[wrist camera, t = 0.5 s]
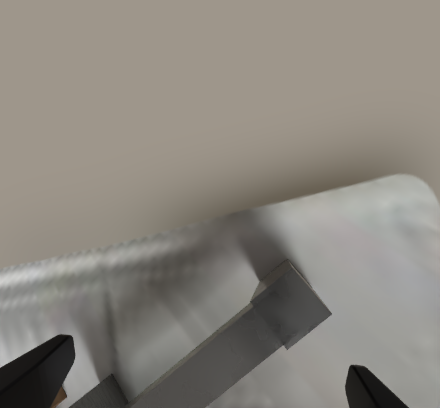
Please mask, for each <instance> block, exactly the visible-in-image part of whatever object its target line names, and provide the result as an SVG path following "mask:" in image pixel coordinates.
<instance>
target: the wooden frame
mask: <svg viewBox="0 0 440 408" xmlns="http://www.w3.org/2000/svg"><path fill="white" fill-rule="evenodd" d="M66 397H67V396H66V394H65V392H64V390H63V388H62V386H61V388H60V390H59V392H58V394H57V396H56V398H55V400H54V402H53V404H52V406H51V407H50V408H55V407H56V406H57V405H58V404H59V403H60V402H62V401H63V400H64V399H65V398H66Z"/></svg>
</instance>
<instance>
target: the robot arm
mask: <svg viewBox="0 0 440 408" xmlns="http://www.w3.org/2000/svg"><path fill="white" fill-rule="evenodd" d="M74 360H75V348H74V341H73V337H72V336H71V335H63V334H60V335H57V336H55V337H53V338H52V339H50V340H48V341H46V342H45V343H43V344H41V345H39V346H38V347H36V348H34V349H32V350H31V351H29V352H27V353H25V354H24V355H22V356H20V357H18V358H17V359H15V360H13V361H11V362H10V363H8V364H6V365H4V366H3V367H1V368H0V408H50V407H51V406H52V404H53V402H54V400H55V398H56V396H57V394H58V392H59V390H60V388H61V386H62V384H63V382H64V380H65V378H66V376H67V375H68V373H69V371H70V369H71V367H72V365H73V363H74ZM345 391H346V396H347V400H348V404H349V408H409V407H408V406H407V405H405V404H404V403H403V402H402V401H401V400H400V399H399V398H398V397H397V396H396V395H395V394H394V393H393V392H392V391H391V390H390V389H389V388H388V387H386V386H385V385H384V384H383V383H382V382H381V381H380V380H379V379H378V378H377V377H376V376H375V375H374V374H373V373H372V372H371V371H370V370H368V369H367V368H366V367H365V366H361V365H351V366H350V367H349V370H348V375H347V380H346V384H345Z"/></svg>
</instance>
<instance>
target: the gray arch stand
mask: <svg viewBox="0 0 440 408" xmlns="http://www.w3.org/2000/svg"><path fill="white" fill-rule="evenodd" d="M330 315H332V313H331V312H330V311H329V309H328V308H327V307H326V305H325V304H324V303H323V301H322V300H321V299H320V298H319V296H318V295H317V294H316V292H315V291H314V290H313V289H312V287H311V286H310V285H309V284H308V283H307V282H306V280H305V279H304V278H303V277H302V276H301V275H300V273H299V272H298V271H297V270H296V269H295V268H294V266H293V265H292V264H291V263H290V262H289V261H288V259H287V260H285V261H284V262H283V263H282V264H281V265H279V266H278V267H277V268H276V269H274V270H273V271H272V272H271V273H270V274H268V275H267V276H266V277H265V278H264V279H262V280H261V281H260V282H259V284H258V286H257V288H256V290H255V292H254V295H253V297H252V299H251V301H250V304H248V305H247V306H246V307H245V308H244V309H242V310H241V311H240V312H239V313H238V314H236V315H235V316H234V317H233V318H231V319H230V320H229V321H228V322H227V323H225V324H224V325H223V326H222V327H220V328H219V329H218V330H217V331H216V332H214V333H213V334H212V335H211V336H210V337H208V338H207V339H206V340H205V341H203V342H202V343H201V344H200V345H199V346H197V347H196V348H195V349H194V350H193V351H191V352H190V353H189V354H188V355H186V356H185V357H184V358H183V359H182V360H180V361H179V362H178V363H177V364H175V365H174V366H173V367H172V368H171V369H169V370H168V371H167V372H166V373H165V374H163V375H162V376H161V377H160V378H158V379H157V380H156V381H155V382H154V383H152V384H151V385H150V386H149V387H148V388H146V389H145V390H144V391H143V392H141V393H140V394H139V395H138V396H137V397H135V398H134V399H133V400H132V401H130V402H129V403H128V401H127V399H126V397H125V396H124V394H123V392H122V390H121V389H120V387H119V385H118V383H117V382H116V380H115V378H114V376H113V375H112V374H111V375H110V376H109V377H107V378H106V379H105V380H103V381H102V382H101V383H100V384H98V385H97V386H96V387H94V388H93V389H92V390H91V391H89V392H88V393H87V394H85V395H84V396H83V397H82V398H80V399H79V400H78V401H77V402H75V403H74V404H73V405H71V406H70V407H69V408H205V407H206V406H207V405H209V404H210V403H211V402H212V401H214V400H215V399H216V398H217V397H219V396H220V395H221V394H222V393H224V392H225V391H226V390H227V389H229V388H230V387H231V386H232V385H234V384H235V383H236V382H237V381H239V380H240V379H241V378H242V377H244V376H245V375H246V374H247V373H249V372H250V371H251V370H252V369H254V368H255V367H256V366H257V365H259V364H260V363H261V362H262V361H264V360H265V359H266V358H267V357H269V356H270V355H271V354H272V353H274V352H275V351H276V350H277V349H279V348H280V347H281V346H282V345H284V346H285V348H286V349H287V350H288V349H289V348H290V347H291V346H293V345H294V344H295V343H296V342H298V341H299V340H300V339H301V338H303V337H304V336H305V335H307V334H308V333H309V332H310V331H312V330H313V329H314V328H315V327H317V326H318V325H319V324H320V323H322V322H323V321H324V320H325V319H327V318H328V317H329V316H330Z"/></svg>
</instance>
